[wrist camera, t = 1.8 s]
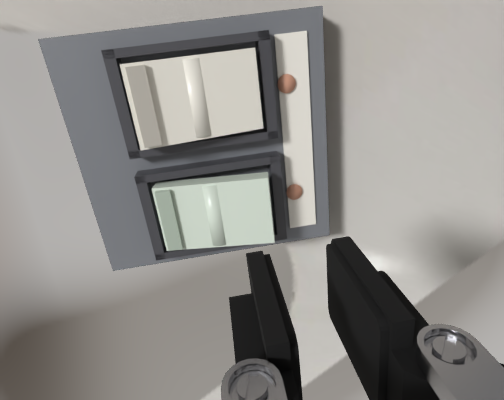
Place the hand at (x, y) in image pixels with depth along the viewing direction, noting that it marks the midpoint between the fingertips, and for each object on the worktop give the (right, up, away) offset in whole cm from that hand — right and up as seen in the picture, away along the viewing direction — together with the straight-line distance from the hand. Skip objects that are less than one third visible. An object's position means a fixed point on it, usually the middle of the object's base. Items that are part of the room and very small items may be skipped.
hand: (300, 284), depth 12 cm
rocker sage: (-5, +2, +17) cm, 17 cm away
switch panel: (-6, +8, +19) cm, 21 cm away
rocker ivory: (-6, +10, +13) cm, 17 cm away
